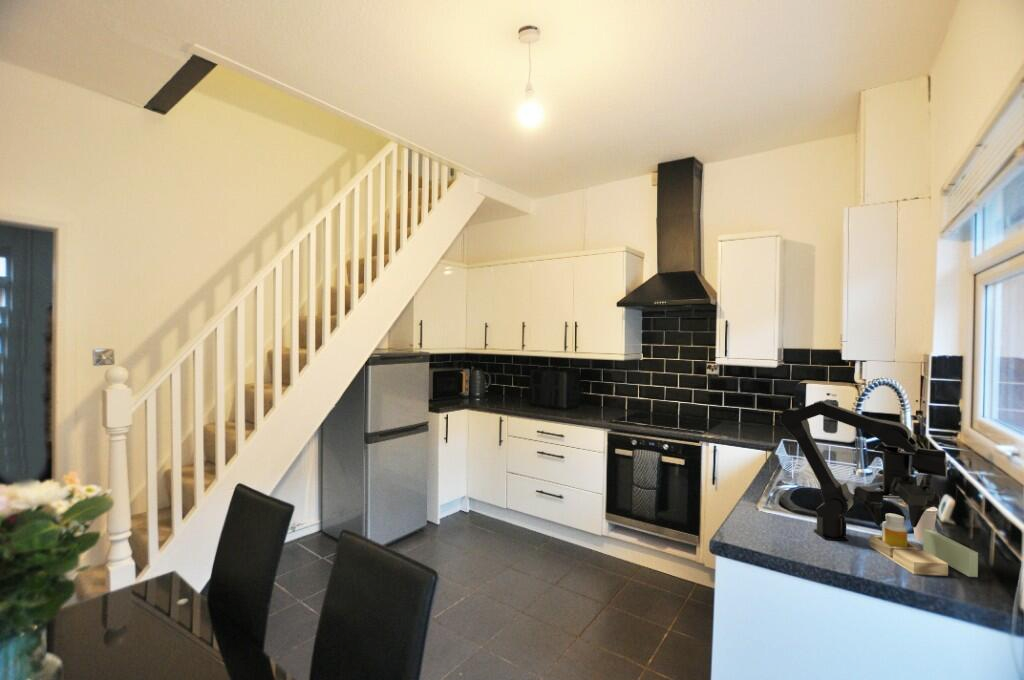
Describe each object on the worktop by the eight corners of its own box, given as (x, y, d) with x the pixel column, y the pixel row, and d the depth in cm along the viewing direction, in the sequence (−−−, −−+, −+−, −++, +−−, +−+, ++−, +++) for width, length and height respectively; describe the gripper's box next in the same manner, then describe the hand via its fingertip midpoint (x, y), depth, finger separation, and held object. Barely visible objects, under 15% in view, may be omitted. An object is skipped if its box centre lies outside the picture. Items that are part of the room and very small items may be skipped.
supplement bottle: (912, 556, 125) (912, 520, 125) (889, 554, 126) (889, 518, 126) (899, 547, 130) (900, 513, 130) (877, 545, 131) (878, 511, 131)
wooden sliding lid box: (913, 574, 116) (913, 562, 116) (869, 545, 132) (869, 535, 132) (947, 575, 116) (948, 563, 116) (899, 547, 132) (899, 536, 132)
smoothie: (903, 535, 140) (903, 488, 140) (922, 535, 140) (923, 488, 140) (923, 544, 133) (924, 496, 133) (944, 544, 134) (944, 495, 134)
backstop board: (968, 576, 115) (969, 552, 115) (923, 551, 129) (923, 529, 129) (977, 577, 115) (977, 552, 115) (931, 551, 129) (931, 529, 129)
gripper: (881, 476, 121) (880, 537, 121) (958, 479, 119) (957, 540, 119) (853, 465, 132) (852, 520, 132) (923, 467, 130) (922, 523, 130)
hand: (895, 526), depth 128 cm, fingers open, 9 cm apart
